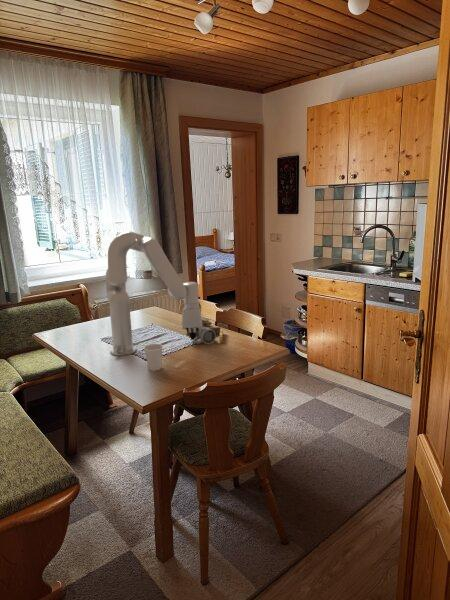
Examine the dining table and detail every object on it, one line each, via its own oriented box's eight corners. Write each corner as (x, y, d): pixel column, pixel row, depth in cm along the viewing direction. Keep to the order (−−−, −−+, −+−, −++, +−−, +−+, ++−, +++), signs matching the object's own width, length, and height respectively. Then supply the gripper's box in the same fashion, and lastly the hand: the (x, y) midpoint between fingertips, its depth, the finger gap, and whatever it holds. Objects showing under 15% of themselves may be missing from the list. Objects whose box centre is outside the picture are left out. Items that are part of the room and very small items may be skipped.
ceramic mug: (210, 338, 222) (210, 324, 220) (216, 342, 214) (215, 328, 213) (192, 341, 218) (191, 327, 216) (197, 346, 210) (196, 332, 209)
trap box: (221, 343, 213) (221, 336, 212) (183, 344, 213) (183, 337, 212) (222, 334, 229) (222, 327, 228) (187, 334, 229) (186, 327, 228)
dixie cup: (167, 368, 183) (166, 346, 181) (151, 373, 178) (150, 351, 175) (157, 363, 189) (156, 342, 187) (141, 367, 184) (140, 346, 181)
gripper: (176, 307, 210) (177, 341, 214) (205, 307, 210) (206, 341, 214) (178, 304, 217) (179, 337, 222) (206, 303, 217) (207, 336, 221)
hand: (192, 339), depth 218 cm, fingers closed
